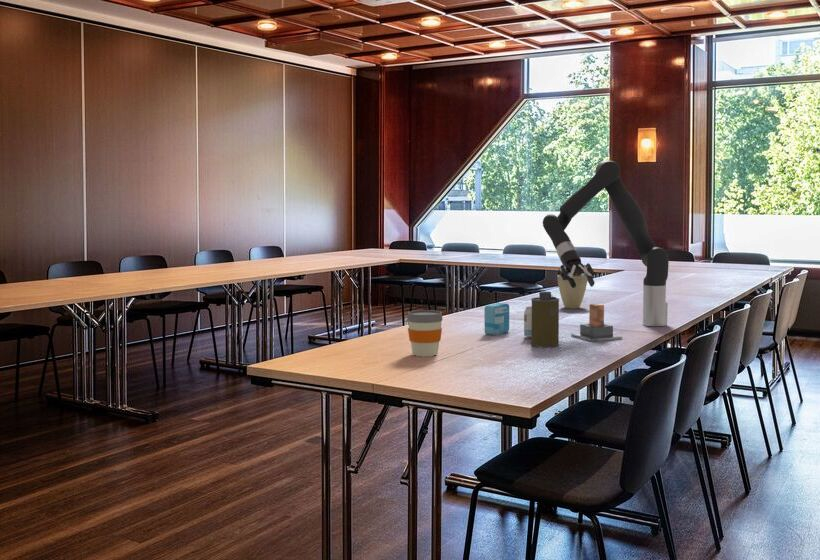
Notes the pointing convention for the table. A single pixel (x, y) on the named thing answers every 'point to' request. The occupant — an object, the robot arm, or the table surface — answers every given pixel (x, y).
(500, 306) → the data package
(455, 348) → the table surface
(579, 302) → the plant pot
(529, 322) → the beverage can
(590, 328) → the socket plate
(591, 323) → the terracotta peg
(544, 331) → the canister
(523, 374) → the table surface
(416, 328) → the reusable coffee cup
